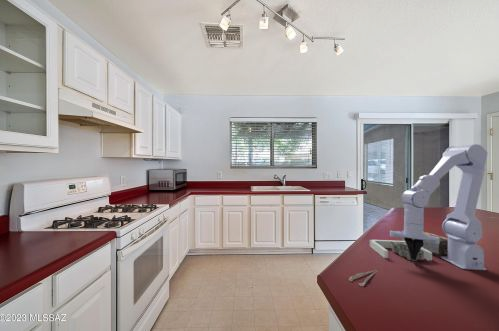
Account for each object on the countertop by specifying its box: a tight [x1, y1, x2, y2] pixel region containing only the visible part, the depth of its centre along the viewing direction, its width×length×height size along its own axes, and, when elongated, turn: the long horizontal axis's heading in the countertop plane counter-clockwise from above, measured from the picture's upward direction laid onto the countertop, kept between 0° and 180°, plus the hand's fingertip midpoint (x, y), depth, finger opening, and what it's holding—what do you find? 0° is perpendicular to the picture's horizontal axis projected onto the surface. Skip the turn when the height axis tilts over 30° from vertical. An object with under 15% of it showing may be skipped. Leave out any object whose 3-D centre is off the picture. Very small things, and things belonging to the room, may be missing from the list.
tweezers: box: [348, 269, 377, 287], centre depth 69 cm, size 17×5×2 cm, turn 126°
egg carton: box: [390, 242, 426, 262], centre depth 86 cm, size 11×8×4 cm
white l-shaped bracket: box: [368, 239, 433, 261], centre depth 88 cm, size 12×17×3 cm
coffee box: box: [401, 229, 448, 258], centre depth 92 cm, size 9×6×16 cm
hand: (413, 258), depth 79 cm, fingers closed
